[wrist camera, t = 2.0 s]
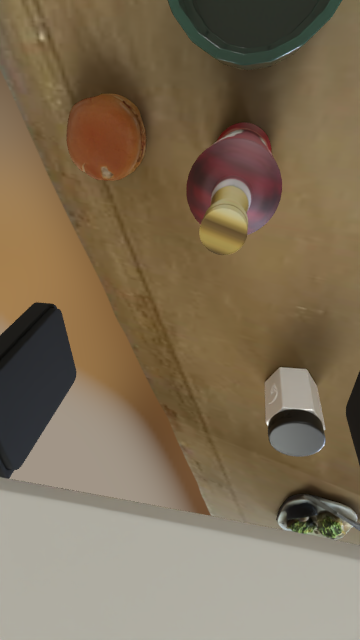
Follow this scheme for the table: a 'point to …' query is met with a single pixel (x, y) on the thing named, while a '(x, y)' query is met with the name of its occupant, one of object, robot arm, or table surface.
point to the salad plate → (316, 516)
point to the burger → (106, 136)
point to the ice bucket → (251, 27)
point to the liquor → (234, 188)
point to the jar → (294, 412)
